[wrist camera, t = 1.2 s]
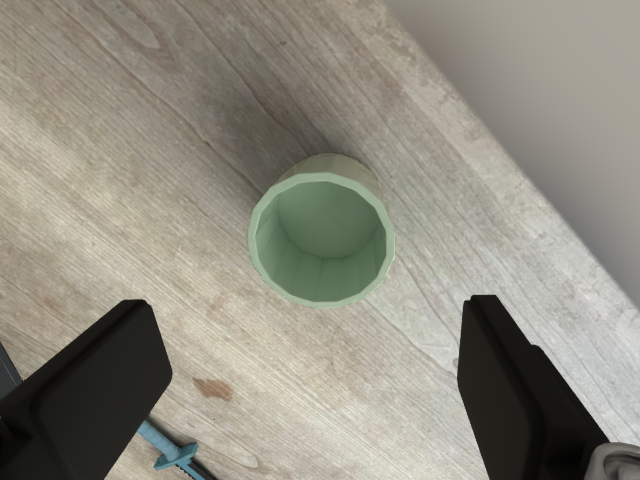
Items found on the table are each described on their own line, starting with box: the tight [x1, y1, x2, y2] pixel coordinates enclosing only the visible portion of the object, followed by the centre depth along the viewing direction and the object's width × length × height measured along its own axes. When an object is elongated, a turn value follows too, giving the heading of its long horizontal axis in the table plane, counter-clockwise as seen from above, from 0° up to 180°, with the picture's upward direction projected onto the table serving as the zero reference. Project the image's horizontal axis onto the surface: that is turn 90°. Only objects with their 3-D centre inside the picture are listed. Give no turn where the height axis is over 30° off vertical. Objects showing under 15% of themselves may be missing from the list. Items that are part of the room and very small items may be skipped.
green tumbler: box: [247, 153, 395, 308], centre depth 18 cm, size 7×7×6 cm
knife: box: [137, 420, 213, 480], centre depth 31 cm, size 17×1×5 cm
